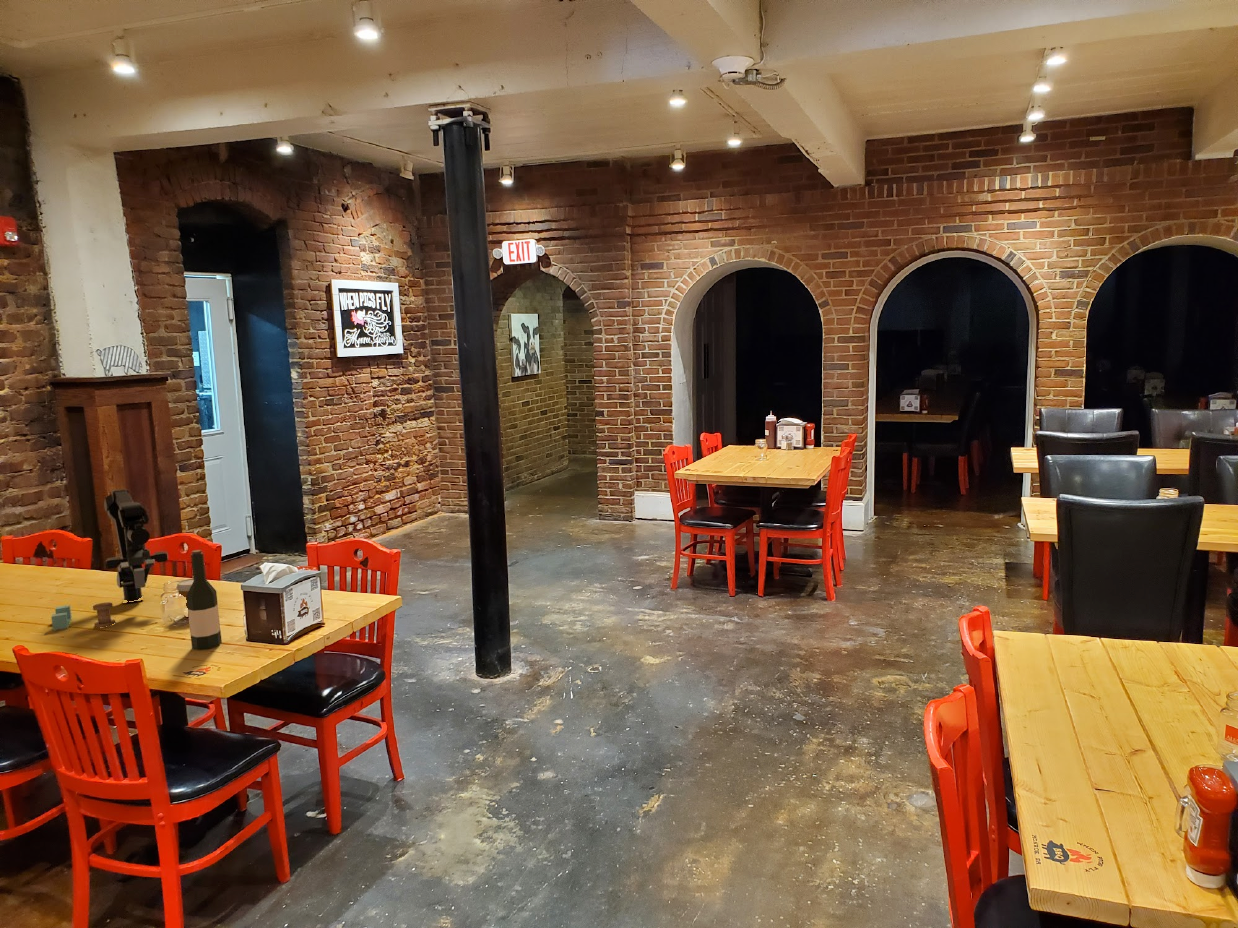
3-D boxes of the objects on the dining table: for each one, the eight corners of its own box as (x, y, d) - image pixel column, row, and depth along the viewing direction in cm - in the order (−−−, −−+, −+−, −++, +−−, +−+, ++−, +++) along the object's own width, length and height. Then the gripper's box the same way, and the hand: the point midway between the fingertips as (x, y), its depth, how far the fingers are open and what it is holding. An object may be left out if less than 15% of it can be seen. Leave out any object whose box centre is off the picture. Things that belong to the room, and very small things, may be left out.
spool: (95, 624, 281) (93, 604, 280) (116, 620, 284) (113, 601, 283) (93, 629, 276) (91, 608, 275) (114, 625, 278) (112, 605, 277)
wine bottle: (209, 650, 252) (199, 554, 248) (185, 649, 254) (174, 554, 250) (227, 640, 260) (217, 547, 256) (204, 639, 262) (194, 547, 258)
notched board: (58, 620, 286) (56, 606, 285) (71, 618, 288) (70, 604, 287) (53, 630, 276) (51, 616, 275) (67, 628, 277) (65, 614, 277)
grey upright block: (135, 585, 293) (134, 569, 293) (145, 584, 295) (143, 567, 294) (135, 588, 290) (133, 571, 289) (145, 587, 291) (143, 570, 290)
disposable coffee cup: (215, 613, 289) (212, 579, 287) (188, 621, 281) (185, 586, 279) (200, 609, 294) (197, 576, 292) (174, 616, 286) (170, 583, 284)
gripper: (101, 548, 279) (107, 593, 281) (164, 540, 287) (170, 584, 289) (104, 542, 289) (110, 585, 291) (165, 534, 297) (170, 577, 299)
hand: (140, 583), depth 292 cm, fingers closed on grey upright block, 3 cm apart
